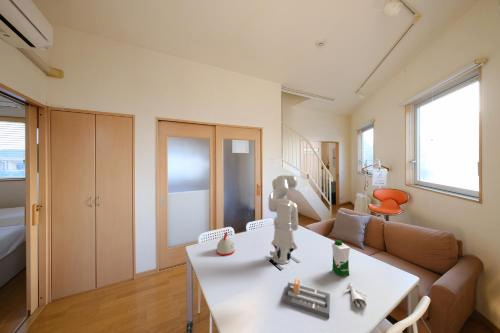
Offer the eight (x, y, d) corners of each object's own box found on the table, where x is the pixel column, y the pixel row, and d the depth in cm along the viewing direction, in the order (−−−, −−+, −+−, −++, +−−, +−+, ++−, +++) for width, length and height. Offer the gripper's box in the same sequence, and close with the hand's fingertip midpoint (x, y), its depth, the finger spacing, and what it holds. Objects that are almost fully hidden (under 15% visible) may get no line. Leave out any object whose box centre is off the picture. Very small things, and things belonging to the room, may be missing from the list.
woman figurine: (348, 300, 88) (338, 279, 105) (348, 309, 88) (338, 287, 105) (375, 304, 85) (360, 282, 103) (375, 314, 85) (361, 290, 102)
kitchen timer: (235, 248, 151) (235, 230, 151) (232, 256, 137) (232, 237, 137) (219, 247, 152) (219, 229, 152) (214, 255, 139) (214, 236, 138)
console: (282, 302, 92) (282, 296, 92) (288, 285, 105) (288, 280, 104) (329, 318, 83) (329, 311, 83) (329, 297, 95) (329, 291, 95)
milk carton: (341, 268, 122) (341, 238, 122) (351, 276, 113) (352, 244, 113) (330, 270, 120) (330, 240, 119) (340, 278, 111) (340, 246, 110)
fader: (293, 294, 94) (293, 283, 94) (294, 289, 98) (294, 278, 98) (298, 296, 93) (298, 284, 93) (300, 291, 97) (300, 280, 97)
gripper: (266, 225, 98) (266, 258, 98) (298, 230, 91) (298, 265, 91) (271, 221, 105) (271, 252, 105) (300, 225, 98) (300, 258, 98)
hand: (283, 258), depth 98 cm, fingers open, 4 cm apart
